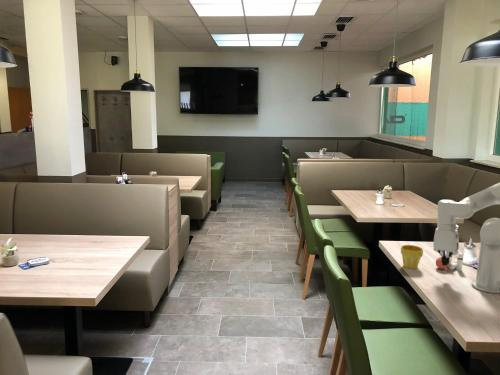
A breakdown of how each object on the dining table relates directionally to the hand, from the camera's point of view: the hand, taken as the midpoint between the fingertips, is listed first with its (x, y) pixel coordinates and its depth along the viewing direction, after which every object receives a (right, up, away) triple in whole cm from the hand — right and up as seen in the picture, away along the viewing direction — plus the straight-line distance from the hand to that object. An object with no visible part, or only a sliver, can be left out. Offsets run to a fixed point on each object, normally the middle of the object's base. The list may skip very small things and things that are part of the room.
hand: (445, 264), depth 190 cm
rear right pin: (+12, -5, +11) cm, 17 cm away
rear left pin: (+9, -4, +15) cm, 18 cm away
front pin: (+8, -4, +11) cm, 14 cm away
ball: (+4, -2, +12) cm, 13 cm away
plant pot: (-10, -4, +16) cm, 19 cm away
